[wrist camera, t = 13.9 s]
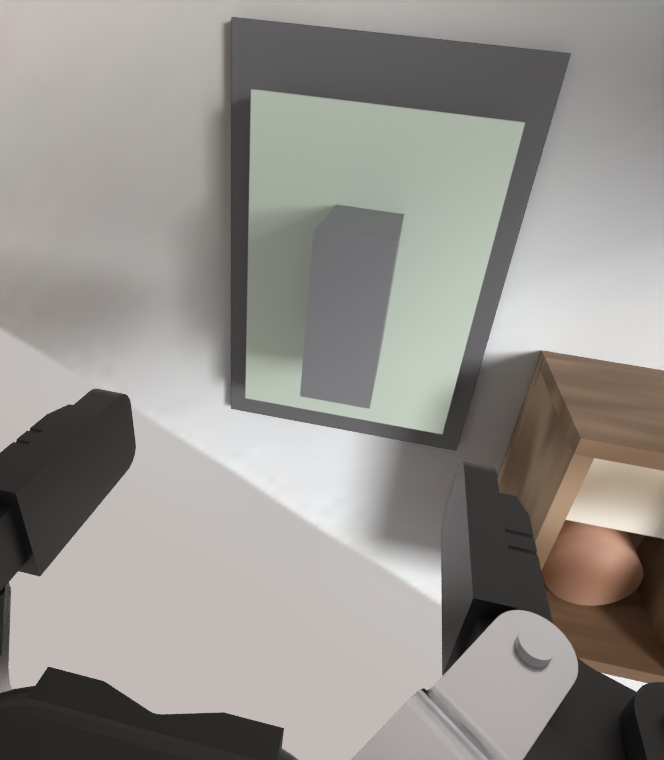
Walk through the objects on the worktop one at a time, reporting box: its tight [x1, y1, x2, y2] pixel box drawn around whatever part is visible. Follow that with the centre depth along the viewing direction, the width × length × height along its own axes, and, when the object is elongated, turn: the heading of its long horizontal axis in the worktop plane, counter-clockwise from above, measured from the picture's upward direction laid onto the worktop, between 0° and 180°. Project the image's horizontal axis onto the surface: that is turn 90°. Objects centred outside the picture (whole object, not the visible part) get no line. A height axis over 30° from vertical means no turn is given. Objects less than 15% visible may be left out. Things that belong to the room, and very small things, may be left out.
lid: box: [245, 89, 525, 434], centre depth 22 cm, size 15×11×7 cm
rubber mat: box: [231, 17, 571, 450], centre depth 26 cm, size 20×14×1 cm
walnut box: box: [497, 351, 664, 683], centre depth 26 cm, size 14×10×8 cm
